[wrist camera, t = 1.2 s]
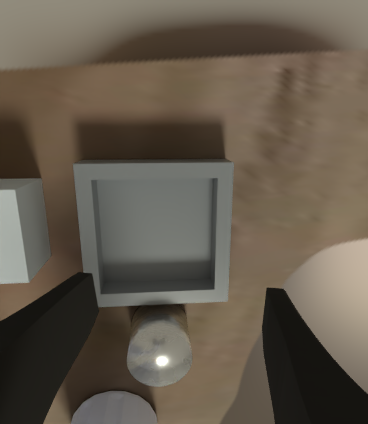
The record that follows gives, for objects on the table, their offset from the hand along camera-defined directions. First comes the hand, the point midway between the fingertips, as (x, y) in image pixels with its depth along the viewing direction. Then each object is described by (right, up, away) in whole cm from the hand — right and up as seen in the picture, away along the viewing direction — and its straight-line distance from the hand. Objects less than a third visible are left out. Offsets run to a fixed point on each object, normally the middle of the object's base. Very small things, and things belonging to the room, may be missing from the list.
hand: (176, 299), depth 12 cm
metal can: (-2, -7, +17) cm, 19 cm away
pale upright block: (-14, +3, +14) cm, 20 cm away
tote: (-2, +2, +15) cm, 15 cm away
